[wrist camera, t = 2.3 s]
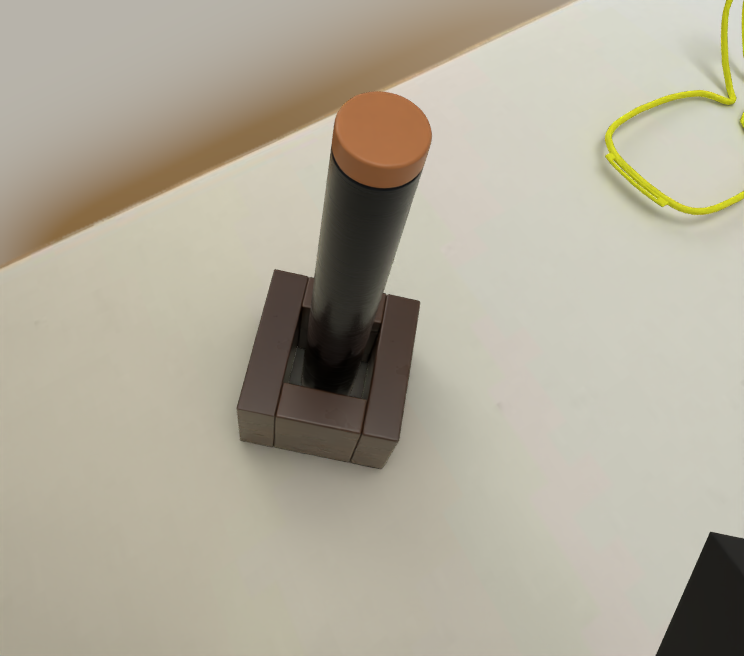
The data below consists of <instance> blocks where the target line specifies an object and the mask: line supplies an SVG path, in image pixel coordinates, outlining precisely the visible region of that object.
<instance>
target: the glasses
mask: <svg viewBox="0 0 744 656" xmlns="http://www.w3.org/2000/svg"><path fill="white" fill-rule="evenodd" d="M732 2H733V0H726V3H725V6H724V10H723V15H722V23H721V54H722V67H723V73H724V78H725V84H726V90H727V93H728V96H729V98H730V99H729V98H725V97H723V96H720V95H718V94H715V93H712V92H709V91H703V90H694V91H686V92H680V93H675V94H671V95H668V96H665V97H662V98H659V99H657V100H654V101H652V102H649V103H647V104H644V105H641V106H639V107H637V108H635V109H633V110H632V111H630V112H628V113H627V114H625V115H623V116H622V117H620V118H619V119H617V120H616V121H615V122H613V123H612V124H611V126H610V127H609V128H608V130H607V132H606V135H605V142H606V145H607V148H608V151H609V154H607V155H606V156H605V157H606V158H607V160H608V161H609V162H610V164H611V165H612V166H613V167H614V168H615V169H616V170H617V171H618V172H619V173H620V174H621V175H622V176H624V177H625V178H626V179H627V180H628V181H629V182H630V183H631V184H632V185H633V186H634V187H636V188H637V189H638V190H639V191H641V192H642V193H643V194H644V195H646V196H647V197H648V198H650V199H651V200H652V201H654V202H655V203H657V204H658V205H660V206H661V207H664V206H665V205H669V206H670V207H672V208H674V209H676V210H678V211H681V212H683V213H687V214H692V215H704V214H710V213H714V212H717V211H719V210H722V209H724V208H726V207H728V206H730V205H733V204H735V203H737V202H739V201H740V200H742V199H744V191H742V192H741V193H739V194H738V195H736V196H734V197H732V198H730V199H728V200H726V201H723V202H721V203H719V204H716V205H714V206H710V207H706V208H692V207H688V206H685V205H682V204H680V203H678V202H676V201H674V200H673V199H671V198H669V197H668V196H666V195H665V194H663V193H662V192H661V191H659V190H658V189H656V188H655V187H654V186H652V185H651V184H650V183H649V182H647V181H646V180H645V179H644V178H643V177H642V176H640V175H639V174H638V173H637V172H636V171H635V170H634V169H633V168H632V167H631V166H630V165H629V164H627V163H626V162H625V161H624V160H623V158H622V157H621V156H620V155H619V154H618V152H617V151H616V149H615V147H614V144H613V141H612V135H613V133H614V131H615V130H616V129H617V128H618V127H619V126H620V125H621V124H623V123H624V122H626V121H627V120H629V119H630V118H632V117H634V116H636V115H637V114H639V113H641V112H643V111H646V110H648V109H651V108H653V107H656V106H658V105H661V104H663V103H666V102H669V101H673V100H677V99H682V98H687V97H697V96H699V97H706V98H710V99H712V100H715V101H718V102H720V103H722V104H726V105H731V104H734V103H735V101H736V95H735V93H734V89H733V85H732V79H731V73H730V67H729V60H728V36H727V31H728V16H729V9H730V7H731V4H732ZM742 45H743V56H744V1H743V8H742ZM740 122H741V124H742V126H743V128H744V112H743V115H742V118H741V120H740ZM613 160H614V161H615V162H616V163H617V164H618V165H619V167H621V168H622V169H623V170H624V171H625V172H626V173H627V174H628V175H629V176H630V177H631V178H632V179H631V178H630V177H629V176H628V175H627V174H626V173H625V172H624V171H623V170H622V169H620V168H619V167H618V166H617V165H616V164H615V162H614V161H613ZM635 181H636V182H637V183H638V184H639V185H640V186H641V187H643V188H644V189H645V190H646V191H645V190H644V189H643V188H641V187H640V186H639V185H638V184H637V183H636V182H635ZM647 191H648V192H649V193H650V194H649V193H648V192H647ZM651 194H652V195H653V196H654V197H653V196H652V195H651ZM655 197H656V198H657V199H656V198H655Z"/></svg>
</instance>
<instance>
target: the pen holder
mask: <svg viewBox="0 0 744 656" xmlns="http://www.w3.org/2000/svg"><path fill="white" fill-rule="evenodd" d="M313 284H314V278H312V277H309V278H308V276H304V275H299V274H295V273H290V272H285V271H281V270H276V269H275V270H274V272H273V276H272V280H271V283H270V287H269V291H268V294H267V298H266V302H265V305H264V309H263V313H262V316H261V320H260V324H259V328H258V331H257V335H256V339H255V342H254V346H253V350H252V353H251V357H250V361H249V364H248V368H247V372H246V375H245V379H244V383H243V387H242V390H241V394H240V398H239V401H238V405H237V415H238V424H239V434H240V440H241V441H246V442H251V443H255V444H260V445H265V446H270V447H273V446H274V447H276V448H281V449H286V450H291V451H296V452H301V453H306V454H311V455H316V456H321V457H325V458H330V459H335V460H340V461H345V462H349V461H350V462H351V463H355V464H360V465H365V466H370V467H374V468H379V469H382V468H383V466H384V465H385V463H386V461H387V460H388V458H389V456H390V455H391V453H392V452H393V450H394V448H395V447H396V445H397V443H398V442H399V438H400V431H401V425H402V419H403V412H404V406H405V399H406V393H407V386H408V380H409V373H410V367H411V360H412V354H413V347H414V341H415V334H416V328H417V321H418V315H419V309H420V301H418V300H413V299H408V298H404V297H399V296H394V295H390V294H388V295H386V294H385V293H383V295H382V298H381V301H380V304H379V307H378V310H377V313H376V316H375V320H374V323H373V326H372V329H371V332H370V335H369V338H368V341H367V344H366V348H365V351H364V354H363V357H362V360H361V361H364V362H368V366H367V372H366V377H365V382H364V388H363V393H362V398H357V397H352V396H347V395H343V394H338V393H333V392H328V391H323V390H319V389H314V388H309V387H304V386H299V385H295V384H290V383H289V379H290V375H291V371H292V367H293V363H294V359H295V354H296V350H297V346H298V347H299V348H303V349H305V345H306V337H307V330H308V322H309V314H310V307H311V299H312V291H313Z"/></svg>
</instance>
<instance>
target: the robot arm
mask: <svg viewBox="0 0 744 656" xmlns="http://www.w3.org/2000/svg"><path fill="white" fill-rule="evenodd" d="M656 656H744V539H743V538H738V537H733V536H728V535H724V534H719V533H714V532H710V534H709V536H708V538H707V540H706V543H705V545H704V547H703V549H702V552H701V554H700V556H699V559H698V561H697V563H696V565H695V568H694V570H693V572H692V574H691V577H690V579H689V581H688V583H687V586H686V588H685V590H684V593H683V595H682V597H681V599H680V602H679V604H678V606H677V608H676V611H675V613H674V615H673V618H672V620H671V622H670V624H669V627H668V629H667V631H666V633H665V636H664V638H663V640H662V643H661V645H660V647H659V649H658V652H657V654H656Z"/></svg>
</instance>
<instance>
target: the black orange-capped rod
mask: <svg viewBox="0 0 744 656" xmlns="http://www.w3.org/2000/svg"><path fill="white" fill-rule="evenodd" d="M431 140H432V132H431V127H430V124H429V122H428V119H427V118H426V116H425V114H424V113H423V112H422V110H421V109H420V108H419V107H418V106H416V105H415V104H414V103H412V102H411V101H409V100H408V99H406V98H404V97H402V96H399V95H396V94H393V93H388V92H367V93H362V94H360V95H357V96H355V97H353V98H351V99H350V100H348V101H347V102H346V103H345V104H344V105H343V106H342V107H341V108H340V110H339V111H338V113H337V115H336V118H335V123H334V130H333V138H332V146H331V153H330V161H329V169H328V176H327V184H326V192H325V199H324V207H323V215H322V222H321V230H320V238H319V245H318V253H317V261H316V268H315V276H314V284H313V291H312V299H311V307H310V314H309V322H308V330H307V337H306V345H305V353H304V360H303V368H302V376H301V386H304V387H309V388H314V389H319V390H323V391H328V392H333V393H338V394H343V395H347V396H349V395H350V393H351V391H352V388H353V385H354V382H355V379H356V376H357V373H358V369H359V366H360V363H361V360H362V357H363V354H364V351H365V348H366V344H367V341H368V338H369V335H370V332H371V329H372V326H373V323H374V320H375V316H376V313H377V310H378V307H379V304H380V301H381V298H382V295H383V291H384V288H385V285H386V282H387V279H388V276H389V273H390V270H391V267H392V263H393V260H394V257H395V254H396V251H397V248H398V245H399V242H400V239H401V235H402V232H403V229H404V226H405V223H406V220H407V217H408V214H409V210H410V207H411V204H412V201H413V198H414V195H415V192H416V189H417V186H418V182H419V179H420V176H421V173H422V170H423V167H424V164H425V161H426V157H427V154H428V151H429V148H430V145H431Z"/></svg>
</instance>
